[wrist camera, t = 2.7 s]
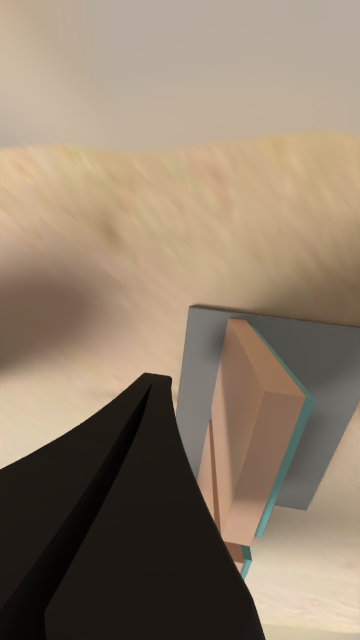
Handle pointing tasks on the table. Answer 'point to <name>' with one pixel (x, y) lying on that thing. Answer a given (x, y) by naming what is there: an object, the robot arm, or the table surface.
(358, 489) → the table surface
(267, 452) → the tile
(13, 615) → the robot arm
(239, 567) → the tile
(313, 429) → the mat
